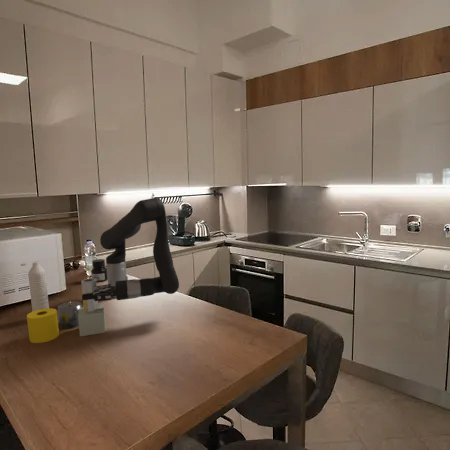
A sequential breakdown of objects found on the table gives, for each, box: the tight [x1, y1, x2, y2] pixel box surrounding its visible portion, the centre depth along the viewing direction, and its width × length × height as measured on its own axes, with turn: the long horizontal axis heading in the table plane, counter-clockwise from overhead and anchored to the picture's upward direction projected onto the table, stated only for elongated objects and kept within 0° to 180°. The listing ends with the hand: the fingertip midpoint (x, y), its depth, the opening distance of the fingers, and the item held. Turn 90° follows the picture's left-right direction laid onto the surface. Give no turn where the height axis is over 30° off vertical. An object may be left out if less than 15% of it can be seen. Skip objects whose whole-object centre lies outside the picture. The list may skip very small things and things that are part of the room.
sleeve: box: [81, 277, 99, 313], centre depth 138 cm, size 5×5×12 cm
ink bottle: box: [90, 258, 108, 283], centre depth 208 cm, size 10×9×12 cm
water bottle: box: [20, 261, 50, 312], centre depth 152 cm, size 9×6×25 cm
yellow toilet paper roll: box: [26, 307, 60, 344], centre depth 134 cm, size 10×10×9 cm
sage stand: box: [78, 304, 107, 337], centre depth 139 cm, size 9×9×10 cm
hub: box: [57, 300, 83, 329], centre depth 146 cm, size 9×9×10 cm
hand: (82, 295), depth 137 cm, fingers closed on sleeve, 5 cm apart
